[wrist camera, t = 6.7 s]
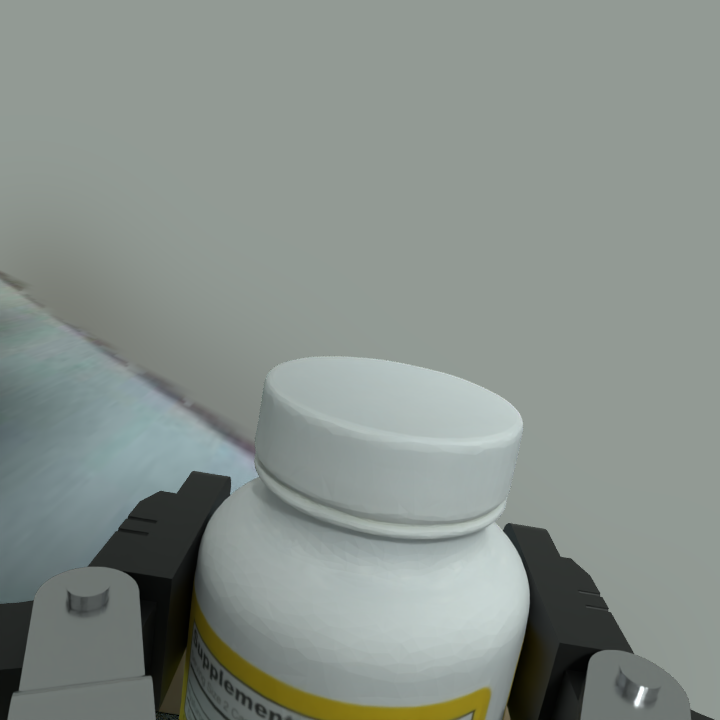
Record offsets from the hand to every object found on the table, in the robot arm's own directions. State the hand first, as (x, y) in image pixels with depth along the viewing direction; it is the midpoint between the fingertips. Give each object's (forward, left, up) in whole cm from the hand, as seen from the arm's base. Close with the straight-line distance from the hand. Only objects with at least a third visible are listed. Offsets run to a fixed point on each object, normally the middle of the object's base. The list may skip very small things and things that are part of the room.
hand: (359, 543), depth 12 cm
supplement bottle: (+1, -1, -6) cm, 6 cm away
